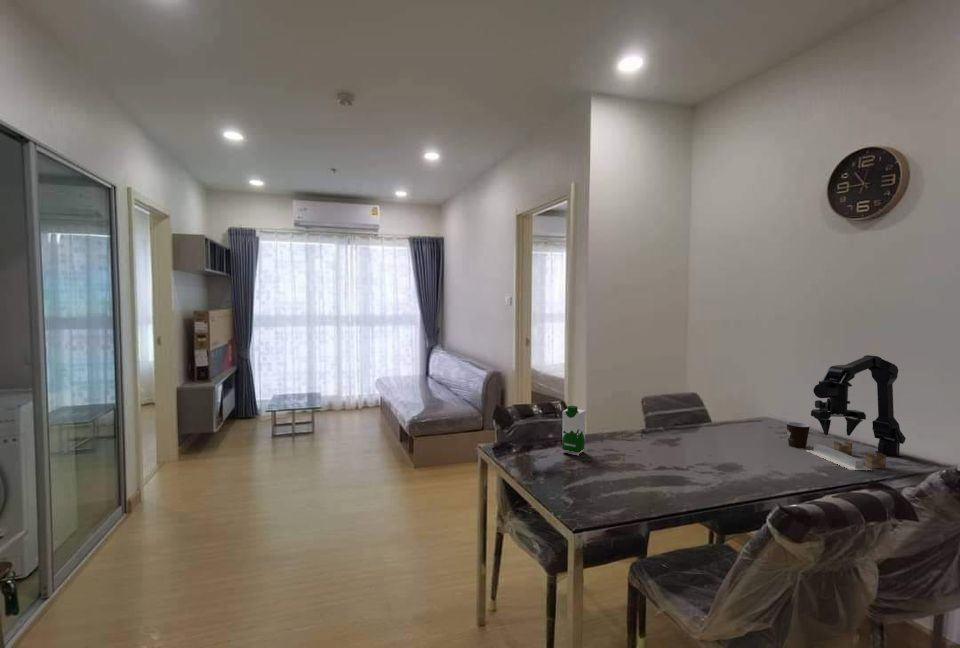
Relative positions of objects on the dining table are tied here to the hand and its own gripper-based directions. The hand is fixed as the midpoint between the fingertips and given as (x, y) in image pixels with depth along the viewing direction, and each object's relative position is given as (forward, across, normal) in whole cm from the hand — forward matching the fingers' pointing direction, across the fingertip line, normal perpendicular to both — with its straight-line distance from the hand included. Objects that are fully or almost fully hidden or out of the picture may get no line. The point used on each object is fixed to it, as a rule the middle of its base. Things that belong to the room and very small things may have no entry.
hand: (837, 435), depth 187 cm
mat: (+10, 0, 0) cm, 10 cm away
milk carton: (+11, +107, -6) cm, 107 cm away
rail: (+10, 0, 0) cm, 10 cm away
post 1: (+10, -9, -8) cm, 16 cm away
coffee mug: (+11, +2, -20) cm, 23 cm away
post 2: (+10, -9, +8) cm, 16 cm away
